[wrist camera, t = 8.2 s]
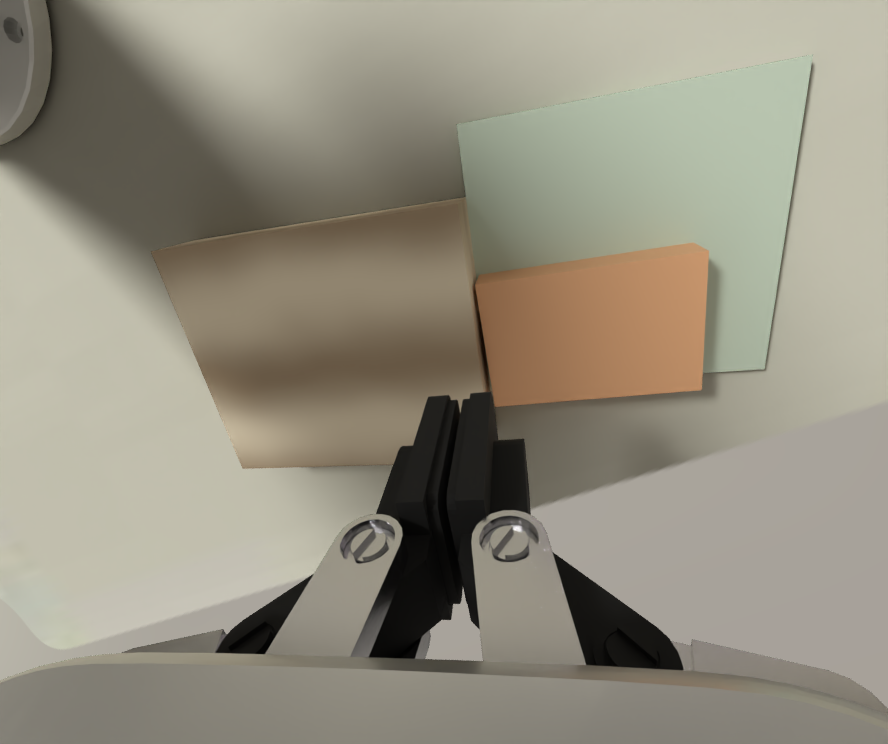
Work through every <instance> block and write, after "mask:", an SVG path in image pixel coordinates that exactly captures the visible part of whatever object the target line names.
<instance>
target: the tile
mask: <svg viewBox="0 0 888 744" xmlns="http://www.w3.org/2000/svg"><path fill="white" fill-rule="evenodd" d="M708 262H709V250H707V249H705V248H703V247H701V246H699V245H697V244H695V243H694V242H693V243H686V244H679V245H673V246H666V247H660V248H653V249H646V250H640V251H633V252H627V253H620V254H613V255H607V256H600V257H594V258H587V259H580V260H574V261H567V262H560V263H554V264H547V265H541V266H534V267H527V268H521V269H514V270H508V271H501V272H494V273H488V274H481V275H479V276H478V279H477V281H476V284H475V288H476V294H477V300H478V306H479V312H480V318H481V324H482V330H483V337H484V343H485V349H486V355H487V361H488V367H489V373H490V379H491V385H492V392H493V398H494V404H495V407H500V406H512V405H525V404H537V403H549V402H562V401H574V400H586V399H598V398H611V397H623V396H635V395H648V394H660V393H672V392H685V391H697V390H702V376H703V357H704V338H705V319H706V300H707V281H708Z"/></svg>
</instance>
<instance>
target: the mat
mask: <svg viewBox="0 0 888 744" xmlns="http://www.w3.org/2000/svg"><path fill="white" fill-rule="evenodd" d="M812 57H813V55H808V56H802V57H797V58H792V59H787V60H782V61H777V62H772V63H767V64H762V65H757V66H751V67H746V68H741V69H736V70H731V71H726V72H721V73H716V74H711V75H706V76H700V77H695V78H690V79H685V80H680V81H675V82H670V83H665V84H660V85H654V86H649V87H644V88H639V89H634V90H629V91H624V92H619V93H614V94H609V95H603V96H598V97H593V98H588V99H583V100H578V101H573V102H568V103H563V104H558V105H552V106H547V107H542V108H537V109H532V110H527V111H522V112H517V113H512V114H507V115H501V116H496V117H491V118H486V119H481V120H476V121H471V122H466V123H461V124H456V125H457V133H458V141H459V148H460V156H461V164H462V172H463V179H464V187H465V195H466V202H467V210H468V218H469V226H470V233H471V241H472V249H473V257H474V264H475V272H476V280H477V279H478V276H479V275H481V274H488V273H494V272H501V271H508V270H514V269H521V268H527V267H534V266H541V265H547V264H554V263H560V262H567V261H574V260H580V259H587V258H594V257H600V256H607V255H613V254H620V253H627V252H633V251H640V250H646V249H653V248H660V247H666V246H673V245H679V244H686V243H693V242H694V243H695V244H697V245H699V246H701V247H703V248H705V249H707V250H709V262H708V281H707V300H706V319H705V338H704V357H703V373H712V372H728V371H744V370H759V369H765V362H766V356H767V349H768V343H769V336H770V330H771V323H772V317H773V311H774V304H775V298H776V291H777V285H778V278H779V272H780V265H781V259H782V252H783V246H784V239H785V233H786V226H787V220H788V213H789V207H790V200H791V194H792V187H793V181H794V174H795V168H796V161H797V155H798V148H799V142H800V135H801V129H802V122H803V116H804V109H805V103H806V96H807V90H808V83H809V77H810V70H811V64H812ZM486 357H487V355H486ZM487 365H488V361H487ZM488 372H489V367H488ZM489 380H490V387H492V385H491V379H490V373H489Z"/></svg>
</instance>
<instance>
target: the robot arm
mask: <svg viewBox="0 0 888 744" xmlns="http://www.w3.org/2000/svg"><path fill="white" fill-rule="evenodd" d="M51 59H52V43H51V32H50V21H49V15H48V10H47V6H46V1H45V0H0V145H3V144H5V143H7V142H9V141H11V140H13V139H15V138H17V137H19V136H20V135H21V134H22V133H23V132H24V131H25V130H26V129H27V128H28V127H29V126H30V125H31V124H32V123H33V122H34V120H35V118H36V117H37V115H38V113H39V111H40V109H41V107H42V106H43V104H44V100H45V97H46V93H47V89H48V85H49V82H50V73H51ZM463 588H464V592H465V598H466V602H467V604H468V608H469V613H470V618H471V621H472V622H473V623H474V624H475V625H476V626H477V627H478V628H479V629H480V636H481V646H482V656H483V661H461V660H460V661H459V660H432V659H425V658H426V654H427V651H428V648H429V643H430V637H431V636H430V629H431V628H432V627H434V626H435V625H436V624H437V623H438V622H439V621H441V620H451V616H452V608H453V604H460V602H461V598H462V589H463ZM691 643H692V644H691V645H686V644H682V643H678V642H674V641H670V639H669V638H668V637H667V636H666V635H665V634H663V632H662V631H660V630H659V629H658V628H657V627H656V626H654V625H653V624H651V623H650V622H649V621H648V620H646V619H645V618H643V617H642V616H641V615H639V614H638V613H636V612H635V611H633V610H632V609H631V608H629V607H628V606H627V605H625V604H624V603H622V602H621V601H620V600H618V599H617V598H615V597H614V596H613V595H611V594H610V593H609V592H607V591H606V590H604V589H603V588H602V587H600V586H599V585H597V584H596V583H595V582H593V581H592V580H590V579H589V578H588V577H586V576H585V575H583V574H582V573H581V572H579V571H578V570H577V569H575V568H574V567H572V566H571V565H569V564H568V563H567V562H565V561H564V560H563V559H561V558H560V557H558V556H557V555H556V554H554V553H553V552H552V549H551V546H550V542H549V539H548V536H547V533H546V530H545V529H544V527H543V525H542V523H540V522H539V521H538V520H537V519H536V518H535V517H533V516H531V513H530V497H529V483H528V472H527V461H526V451H525V442H524V439H514V440H498V434H497V427H496V419H495V412H494V404H493V397H492V392H480V393H470V399H463V401H462V407H461V413H460V409H459V404H458V400H451V398H450V396H449V395H442V396H430V397H428V399H427V402H426V405H425V408H424V411H423V415H422V418H421V421H420V424H419V427H418V431H417V434H416V437H415V440H414V444H413V445H412V446H402V447H400V449H399V451H398V453H397V456H396V459H395V462H394V465H393V467H392V470H391V473H390V476H389V479H388V482H387V484H386V487H385V490H384V493H383V496H382V499H381V501H380V504H379V507H378V510H377V513H376V514H371V515H367V516H364V517H361V518H359V519H357V520H354V521H352V522H351V523H350V524H348V525H347V526H346V527H344V528H343V529H342V530H341V532H340V533H339V534H338V535H337V537H336V538H335V540H334V542H333V543H332V545H331V547H330V548H329V550H328V551H327V553H326V555H325V556H324V558H323V560H322V561H321V563H320V565H319V566H318V568H317V570H316V571H315V573H314V574H313V575H311V576H310V577H308V578H307V579H305V580H304V581H302V582H301V583H299V584H298V585H296V586H294V587H293V588H291V589H290V590H288V591H287V592H285V593H284V594H282V595H281V596H279V597H278V598H276V599H275V600H273V601H272V602H270V603H269V604H267V605H266V606H264V607H263V608H261V609H259V610H258V611H256V612H255V613H253V614H252V615H250V616H249V617H248V618H246V619H244V620H243V621H242V622H240V623H239V624H238V625H237V626H235V627H234V628H233V629H232V630H231V631H230V632H229V633H228V634H226V633H225V632H224V630H223V629H221V630H216V631H212V632H207V633H202V634H198V635H193V636H188V637H184V638H179V639H174V640H170V641H165V642H161V643H156V644H151V645H147V646H142V647H137V648H133V649H131V650H128V651H125V652H122V653H116V654H102V655H95V656H87V657H79V658H73V659H68V660H64V661H60V662H56V663H51V664H47V665H43V666H39V667H36V668H33V669H30V670H27V671H25V672H22V673H19V674H16V675H13V676H10V677H7V678H5V679H3V680H1V681H0V744H888V708H887V707H886V706H885V705H884V704H883V703H882V702H881V701H879V699H878V698H877V697H875V696H874V695H873V694H872V693H871V692H870V691H869V690H867V689H866V688H864V687H862V686H861V685H859V684H858V683H856V682H854V681H853V680H851V679H850V678H847V677H845V676H842V675H839V674H837V673H834V672H831V671H829V670H825V669H820V668H816V667H811V666H807V665H803V664H798V663H794V662H789V661H785V660H781V659H776V658H772V657H768V656H763V655H759V654H755V653H750V652H746V651H741V650H737V649H733V648H728V647H724V646H720V645H715V644H711V643H707V642H702V641H697V640H693V639H692V642H691Z"/></svg>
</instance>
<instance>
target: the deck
mask: <svg viewBox="0 0 888 744" xmlns="http://www.w3.org/2000/svg"><path fill="white" fill-rule="evenodd" d="M151 254H152V256H153V258H154V261H155V263H156V265H157V268H158V270H159V272H160V275H161V277H162V279H163V282H164V284H165V287H166V289H167V291H168V294H169V296H170V298H171V301H172V303H173V305H174V308H175V310H176V312H177V315H178V317H179V320H180V322H181V324H182V327H183V329H184V331H185V334H186V336H187V338H188V341H189V343H190V345H191V348H192V350H193V353H194V355H195V357H196V360H197V362H198V364H199V367H200V369H201V371H202V374H203V376H204V378H205V381H206V383H207V386H208V388H209V390H210V393H211V395H212V397H213V400H214V402H215V404H216V407H217V409H218V411H219V414H220V416H221V419H222V421H223V423H224V426H225V428H226V430H227V433H228V435H229V437H230V440H231V442H232V444H233V447H234V449H235V452H236V454H237V456H238V459H239V461H240V463H241V466H242V468H243V469H245V468H283V467H320V466H357V465H394V462H395V459H396V456H397V453H398V451H399V449H400V447H402V446H412V445H413V444H414V440H415V437H416V434H417V431H418V427H419V424H420V421H421V418H422V415H423V411H424V408H425V405H426V402H427V399H428V397H430V396H442V395H449V396H450V398H451V400H458V404H459V409H460V413H461V407H462V401H463V399H470V393H480V392H492V388H491V387H490V380H489V372H488V365H487V357H486V349H485V343H484V337H483V330H482V324H481V318H480V312H479V306H478V300H477V294H476V288H475V284H476V281H477V280H476V272H475V264H474V257H473V249H472V241H471V233H470V226H469V218H468V210H467V202H466V197H463V198H456V199H450V200H444V201H438V202H431V203H425V204H419V205H412V206H406V207H400V208H393V209H387V210H381V211H375V212H368V213H362V214H356V215H349V216H343V217H337V218H331V219H324V220H318V221H312V222H305V223H299V224H293V225H287V226H280V227H274V228H268V229H261V230H255V231H249V232H242V233H236V234H230V235H224V236H217V237H211V238H205V239H198V240H193V241H189V242H186V243H182V244H178V245H174V246H170V247H166V248H162V249H159V250H155V251H151ZM492 397H493V396H492ZM493 404H494V403H493ZM494 412H495V411H494Z"/></svg>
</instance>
